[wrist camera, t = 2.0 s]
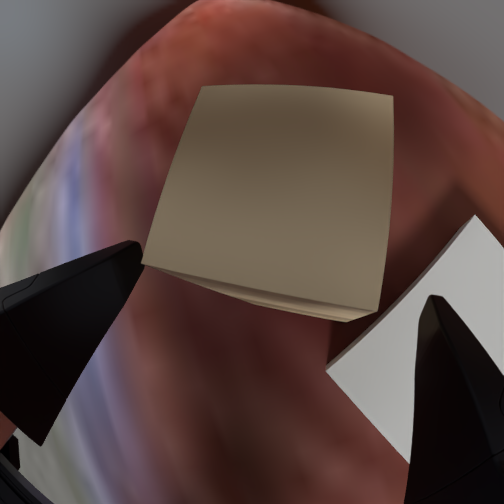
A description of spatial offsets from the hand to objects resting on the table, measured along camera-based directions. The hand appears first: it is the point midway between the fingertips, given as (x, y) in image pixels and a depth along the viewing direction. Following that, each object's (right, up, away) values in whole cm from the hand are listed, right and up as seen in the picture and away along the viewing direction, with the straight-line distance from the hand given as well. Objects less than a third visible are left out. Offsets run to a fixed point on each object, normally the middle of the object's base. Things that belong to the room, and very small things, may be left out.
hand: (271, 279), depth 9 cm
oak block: (+3, 0, +10) cm, 10 cm away
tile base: (+12, -6, +6) cm, 15 cm away
